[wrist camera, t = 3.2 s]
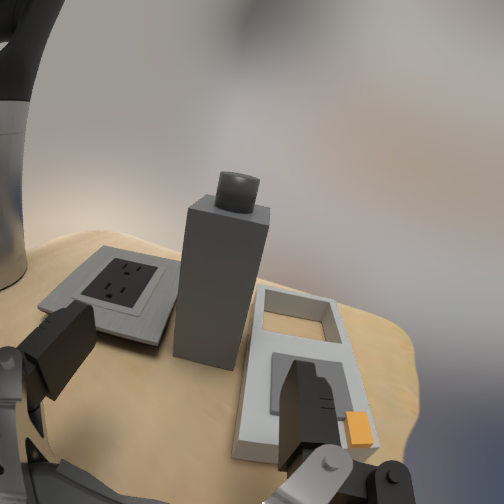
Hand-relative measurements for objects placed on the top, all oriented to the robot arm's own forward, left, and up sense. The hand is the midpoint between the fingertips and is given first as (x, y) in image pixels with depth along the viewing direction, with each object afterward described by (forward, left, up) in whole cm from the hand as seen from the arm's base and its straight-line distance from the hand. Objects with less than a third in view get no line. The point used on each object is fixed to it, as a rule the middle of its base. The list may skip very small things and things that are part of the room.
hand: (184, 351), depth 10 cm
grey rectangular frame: (+7, +8, -8) cm, 13 cm away
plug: (0, +9, -8) cm, 12 cm away
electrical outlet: (-9, +12, -8) cm, 17 cm away
